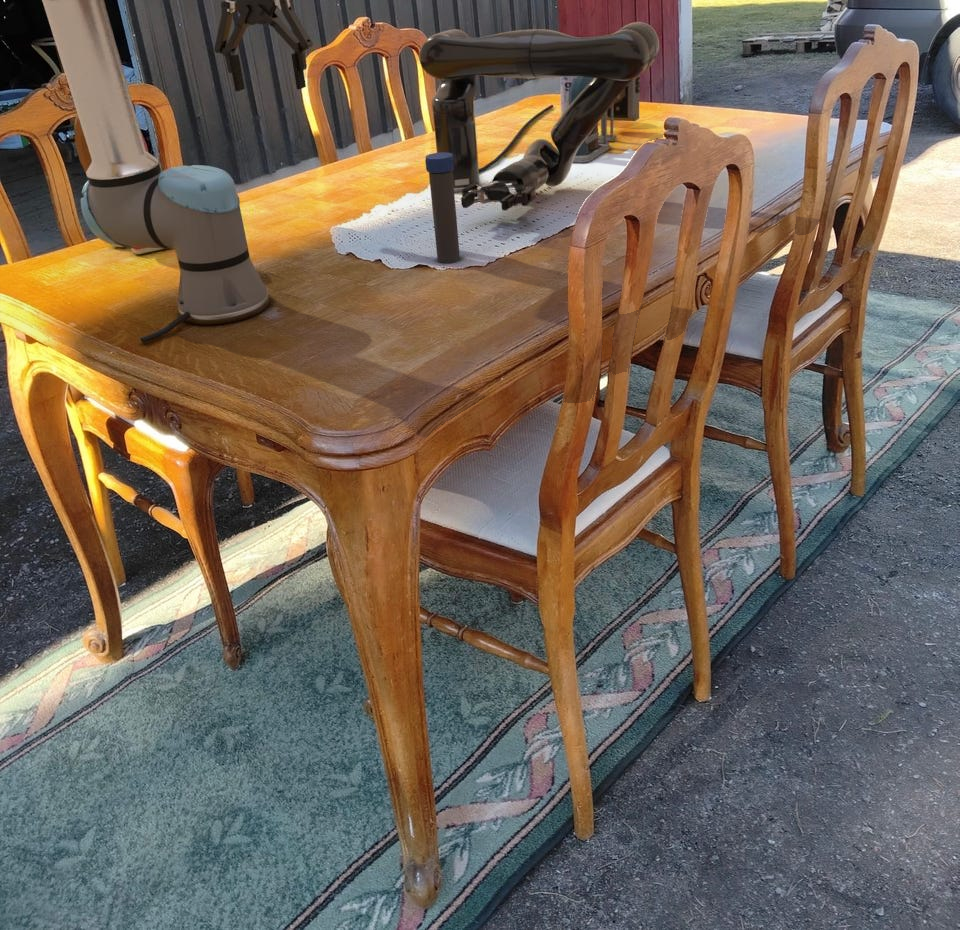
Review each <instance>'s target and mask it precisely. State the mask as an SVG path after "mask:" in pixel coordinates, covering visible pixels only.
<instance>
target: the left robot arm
mask: <svg viewBox="0 0 960 930" xmlns="http://www.w3.org/2000/svg"><path fill="white" fill-rule="evenodd" d="M41 1H42V4H43V7H44V11H45V14H46V17H47V21H48V24H49V27H50V30H51V34H52V36H53V40H54V43H55V45H56V49H57V53H58V55H59V58H60V59H59V60H60V62H61V65H62V68H63V72H64V74H65V78H66V81H67V85H68V88H69V90H70V94H71V97H72V100H73V104H74V107H75V110H76V114H77V113H78V117H79V120H80V123H81V126H82V129H83V133H84V136H85V139H86V142H87V146H88V149H89V152H90V155H91V158H92V163H91V165H90V166H89V168H88V170H87V171H86V173H85V175H86V178H87V181H86V182H85V184H84V185H83V187H82V190H81V195H82V196H83V197H81V198H80V209H81V213H82V216H83V219H84V221H85V223H86V225H87V226H88V228H89V230H90V231H91V232H92V233H93V234H94V235H95V237H96V238H98V239H99V240H101V241H102V242H104V243H107V244H108V245H110V244H112V245H118V246H122V247H121V248H127V249H131V248H136V247H141V248H164V249H163V250H167V249H168V250H175V254H176V258H177V262H178V266H179V283H178V294H177V310H178V314H179V316H178V317H176V318H175V319H174V320H173V321H170V323H168V324H167V325H165V326H164V327H162V328H161V329H159V330H157V331H154V332H151V333H149V334H147V335H144V336H142V337H140V342H141V343H142V344H146V343H148V342H151V341H153V340H156V339H158V338H160V337H162V336H164V335H166V334H168V333H169V332H171V331H172V330H173V329H175V328H176V327H177V326H179V325H181V323H183V322H186V323H189V324H193V325H202V326H203V325H204V326H205V325H206V326H210V325H222V324H230V323H233V322H239V321H241V320H245V319H248V318H251V317H253V316H256V315H258V314H260V312H263V311H264V310H265V309H266V308H267V307H268V306H269V305H270V296H269V291H268V289H267V287H266V284H265V283H264V282H263V280H262V278H261V276H260V274H259V272H258V270H257V269H256V267H255V265H254V264H253V262H252V260H251V257H250V251H249V246H248V241H247V240H248V239H247V236H246V232H245V226H244V225H245V224H244V220H243V216H242V211H241V206H240V203H241V201H240V200H241V199H240V196H239V194H238V193H237V188H236V184H235V181H234V179H233V178H232V176H231V174H230V173H229V172H228V171H226V170H224V169H221V168H219V167H216V166H211V165H201V164H192V165H177V166H173V167H169V168H166V169H164V170H162V169H161V164H160V161H159V159H158V158H157V157H155V156H154V155H153V154H151V153H150V152H149V151H148V152H149V153H148V152H147V151H146V150H145V146H144V142H143V139H142V135H143V134H142V135H141V133H142V131H141V132H140V130H141V128H140V124H139V121H138V118H137V113H136V114H135V110H134V107H133V103H134V102H133V103H132V101H133V99H132V96H131V93H130V89H129V86H128V82H127V79H126V75H125V72H124V67H123V64H122V61H121V56H120V54H119V50H118V46H117V43H116V39H115V36H114V32H113V28H112V24H111V20H110V18H109V14H108V11H107V7H106V3H105V0H41ZM277 8H278V10H280V11H281V13H282V15H283V16H284V18H285V20H286V22H287V23H288V26H289V27H290V28H291V29H289V27H288V26H287V25H286V24H285V23H284V21H283V20H282V18H281V17H280V16H279V15H278V14H277V12H276V10H277ZM220 9H221V15H220V20H219V24H218V30H217V35H216V38H215V44H214V48H213V49H214V52H215V53H216V54H221V55H223V56H224V58H225V63H226V70H227V72H228V73H229V74H231V76H232V81H233V87H234V91H235V92H241V91H242V90H245V89H246V88H245V82H244V77H243V71H242V67H241V61H240V56H239V54H238V53H237V52H236V50H237V48H238V46H239V45H240V42H241V40H242V38H243V36H244V34H245V32H246V30H247V28H248V27H249V26H255V25H260V26H261V25H269V26H270V27H272V28H273V29H274V30H275V31H276V32H277V34H278V35H279V36H280V37H281V38H282V39H283V41H284V42H286V44H287V45H288V46H289V47H290V48H291V49H292V50H293V52H292V53H291V61H292V67H293V74H294V80H295V86H296V90H302V89H304V88H306V87H307V86H306V85H307V83H306V79H305V70H307V67H308V65H307V59H306V51H307V50H308V49H310V48H313V46H314V43H313V41H312V39H311V37H310V36H309V34H308V32H307V31H306V28H305V27H304V26H303V25H304V24H302V22H301V20H300V19H299V17H298V15H297V13H296V11H295V10H294V8H293V3H292V0H234V1H232V0H221V2H220ZM235 11H237V12H238V13H239V16H238V19H237V20H236V23H235V24H236V25H235V27H234V29H233V30H232V33H231V35H230V32H231V27H232V23H233V18H234V13H235ZM229 36H230V37H229ZM236 53H237V54H236Z"/></svg>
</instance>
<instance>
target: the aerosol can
mask: <svg viewBox="0 0 960 930" xmlns="http://www.w3.org/2000/svg"><path fill="white" fill-rule="evenodd" d="M577 77H578V76H576V77H560V78H559V79H560V81H559V83H560V84H559V85H560V113H561V115H560V117H561V116H562V115H563V113H564V112H565V111H566V109H567V108H568V107H569V90H570V86H571V84H572V83H573V82H574V80H575V79H576V78H577Z"/></svg>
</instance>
